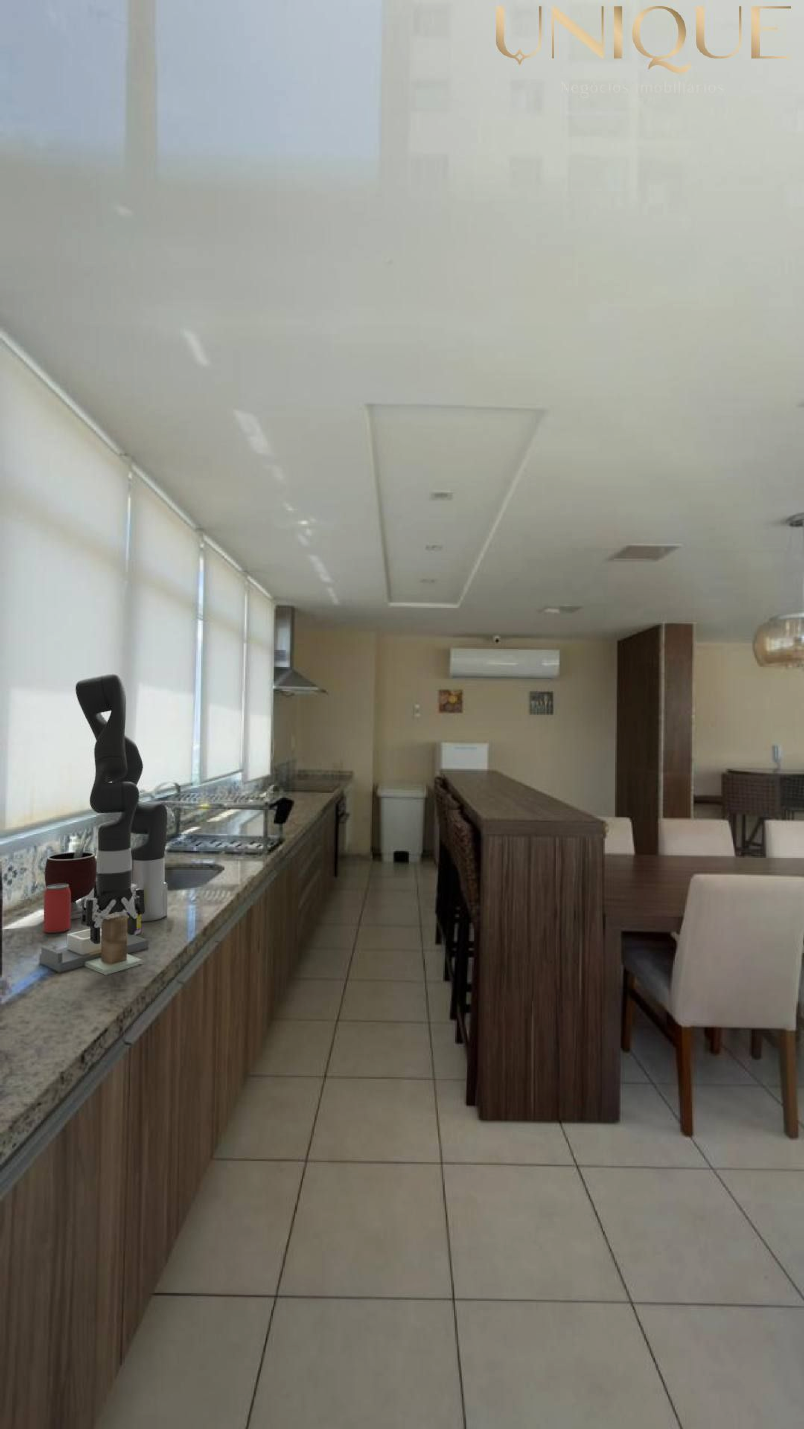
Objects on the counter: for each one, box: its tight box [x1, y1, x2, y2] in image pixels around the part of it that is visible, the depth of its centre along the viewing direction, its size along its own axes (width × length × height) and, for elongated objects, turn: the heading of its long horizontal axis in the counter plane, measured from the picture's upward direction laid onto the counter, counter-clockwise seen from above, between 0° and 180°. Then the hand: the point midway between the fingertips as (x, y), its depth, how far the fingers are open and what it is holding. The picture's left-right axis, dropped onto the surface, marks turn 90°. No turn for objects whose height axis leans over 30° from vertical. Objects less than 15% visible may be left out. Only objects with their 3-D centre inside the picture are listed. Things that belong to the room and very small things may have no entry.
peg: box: [100, 914, 127, 965], centre depth 161 cm, size 4×4×10 cm
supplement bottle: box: [113, 884, 142, 936], centre depth 185 cm, size 7×7×13 cm
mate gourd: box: [44, 840, 97, 920], centre depth 206 cm, size 16×14×20 cm
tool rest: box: [84, 953, 143, 976], centre depth 161 cm, size 9×9×1 cm
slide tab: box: [66, 928, 101, 955], centre depth 166 cm, size 7×7×4 cm
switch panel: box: [38, 933, 150, 973], centre depth 168 cm, size 22×10×4 cm, turn 142°
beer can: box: [43, 884, 72, 934], centre depth 188 cm, size 7×7×12 cm
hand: (113, 938), depth 161 cm, fingers open, 8 cm apart
